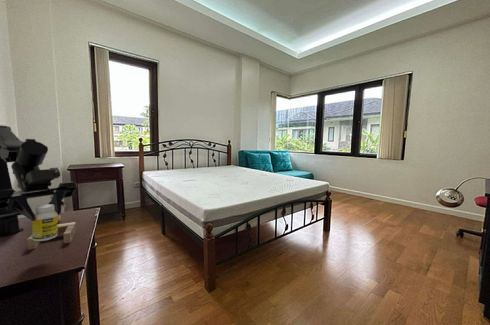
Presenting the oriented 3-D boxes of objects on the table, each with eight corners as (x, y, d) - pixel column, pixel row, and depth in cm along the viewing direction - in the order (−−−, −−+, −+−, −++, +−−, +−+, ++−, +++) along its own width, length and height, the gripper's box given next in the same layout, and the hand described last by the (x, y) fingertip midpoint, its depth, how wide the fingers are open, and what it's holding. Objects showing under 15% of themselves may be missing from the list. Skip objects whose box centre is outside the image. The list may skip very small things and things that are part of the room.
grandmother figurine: (50, 224, 84) (49, 195, 83) (42, 224, 84) (41, 194, 83) (69, 218, 92) (67, 191, 90) (61, 217, 92) (60, 190, 91)
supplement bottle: (42, 242, 57) (41, 209, 57) (27, 240, 58) (26, 207, 58) (62, 235, 63) (62, 204, 62) (48, 232, 64) (48, 202, 63)
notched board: (38, 236, 73) (38, 227, 73) (76, 231, 79) (75, 222, 79) (27, 249, 64) (27, 238, 64) (70, 242, 70) (70, 232, 70)
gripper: (-13, 161, 52) (6, 210, 48) (74, 158, 69) (93, 194, 65) (-21, 187, 56) (-4, 234, 52) (63, 178, 73) (80, 213, 69)
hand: (47, 216), depth 59 cm, fingers closed on supplement bottle, 5 cm apart
